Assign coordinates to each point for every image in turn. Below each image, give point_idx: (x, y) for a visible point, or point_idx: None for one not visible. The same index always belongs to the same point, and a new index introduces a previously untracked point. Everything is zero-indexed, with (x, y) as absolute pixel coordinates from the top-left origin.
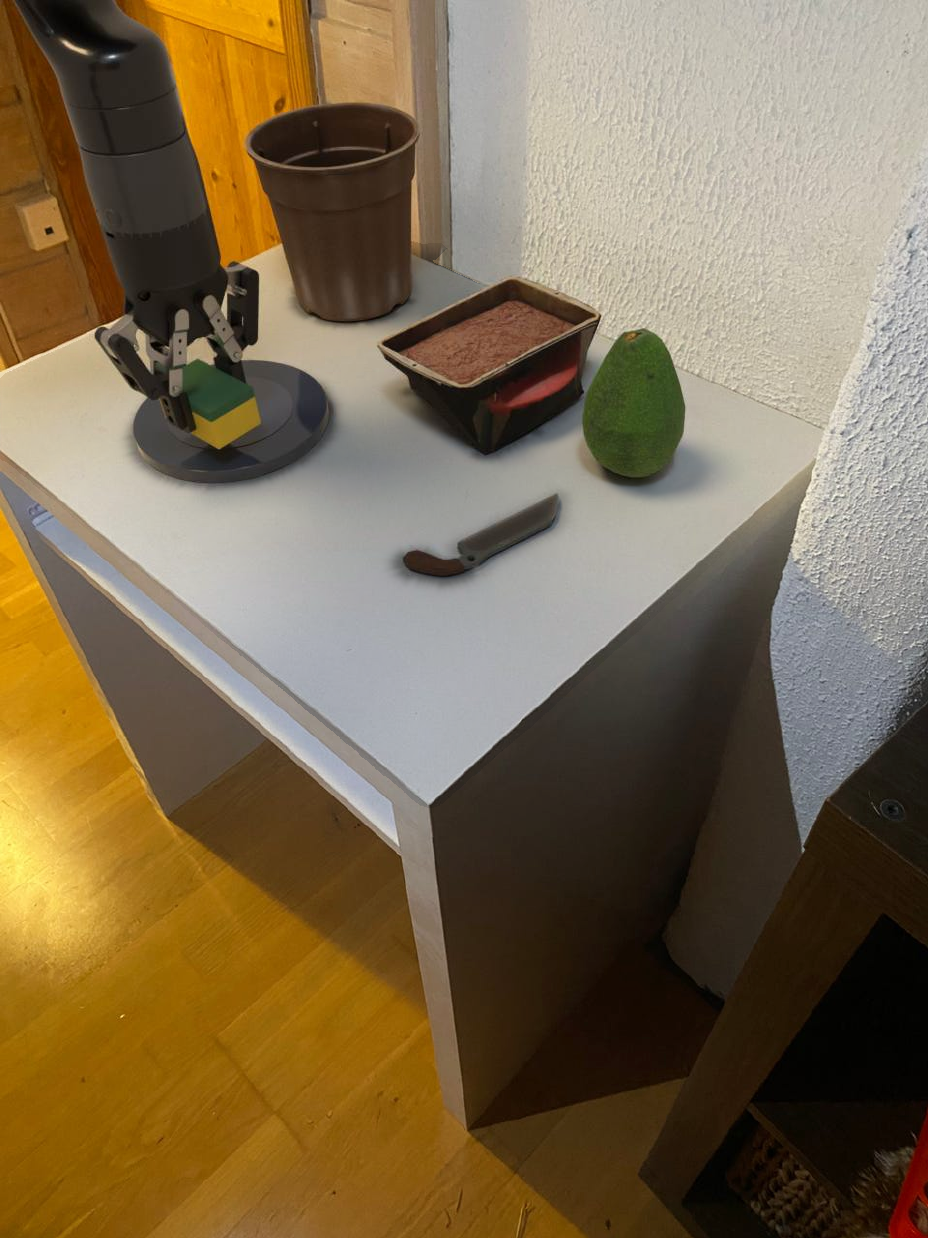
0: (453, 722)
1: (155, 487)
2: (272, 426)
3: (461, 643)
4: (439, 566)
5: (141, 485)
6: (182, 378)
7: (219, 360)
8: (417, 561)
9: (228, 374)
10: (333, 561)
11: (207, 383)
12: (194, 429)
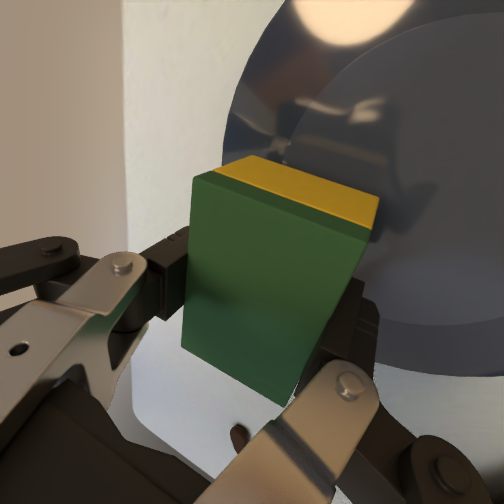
0: (162, 429)
1: (206, 166)
2: (381, 303)
3: (200, 441)
4: (236, 449)
5: (199, 141)
6: (133, 351)
7: (310, 366)
8: (233, 438)
9: (309, 357)
10: (215, 379)
11: (253, 319)
12: None
